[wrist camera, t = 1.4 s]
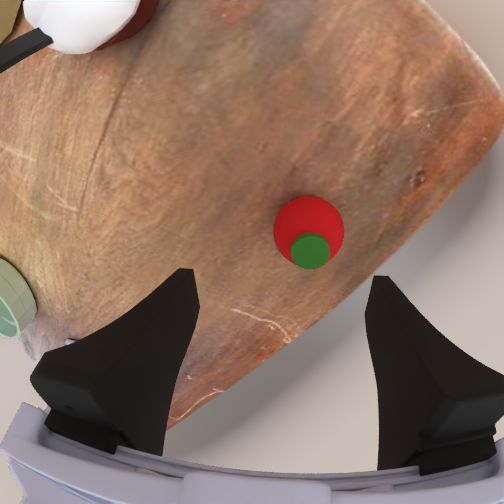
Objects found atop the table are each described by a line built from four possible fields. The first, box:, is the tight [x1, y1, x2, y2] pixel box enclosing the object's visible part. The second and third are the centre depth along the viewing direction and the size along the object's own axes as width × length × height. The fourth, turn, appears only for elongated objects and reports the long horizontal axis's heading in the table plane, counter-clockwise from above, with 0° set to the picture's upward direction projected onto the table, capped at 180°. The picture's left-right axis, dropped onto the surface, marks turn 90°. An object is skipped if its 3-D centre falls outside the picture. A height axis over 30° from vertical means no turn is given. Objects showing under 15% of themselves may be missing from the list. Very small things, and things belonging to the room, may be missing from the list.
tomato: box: [274, 196, 344, 269], centre depth 18 cm, size 4×4×4 cm
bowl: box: [0, 258, 37, 340], centre depth 26 cm, size 9×9×4 cm
